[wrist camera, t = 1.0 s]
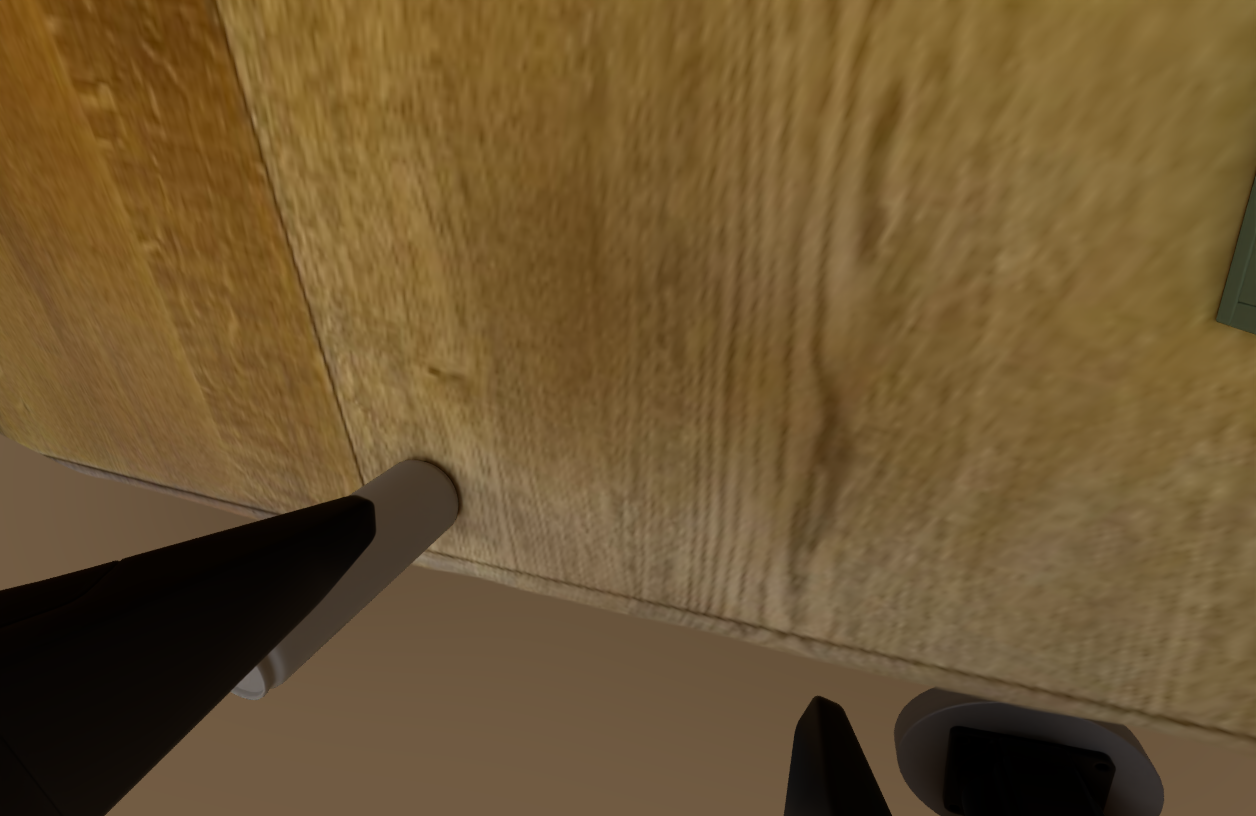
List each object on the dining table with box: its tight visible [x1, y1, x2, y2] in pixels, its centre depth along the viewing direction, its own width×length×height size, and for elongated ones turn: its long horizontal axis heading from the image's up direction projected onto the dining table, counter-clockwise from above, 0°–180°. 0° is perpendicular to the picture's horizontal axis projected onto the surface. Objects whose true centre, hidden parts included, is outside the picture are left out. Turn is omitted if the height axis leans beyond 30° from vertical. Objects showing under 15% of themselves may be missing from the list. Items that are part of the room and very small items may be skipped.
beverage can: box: [230, 460, 458, 700], centre depth 24 cm, size 5×5×12 cm
